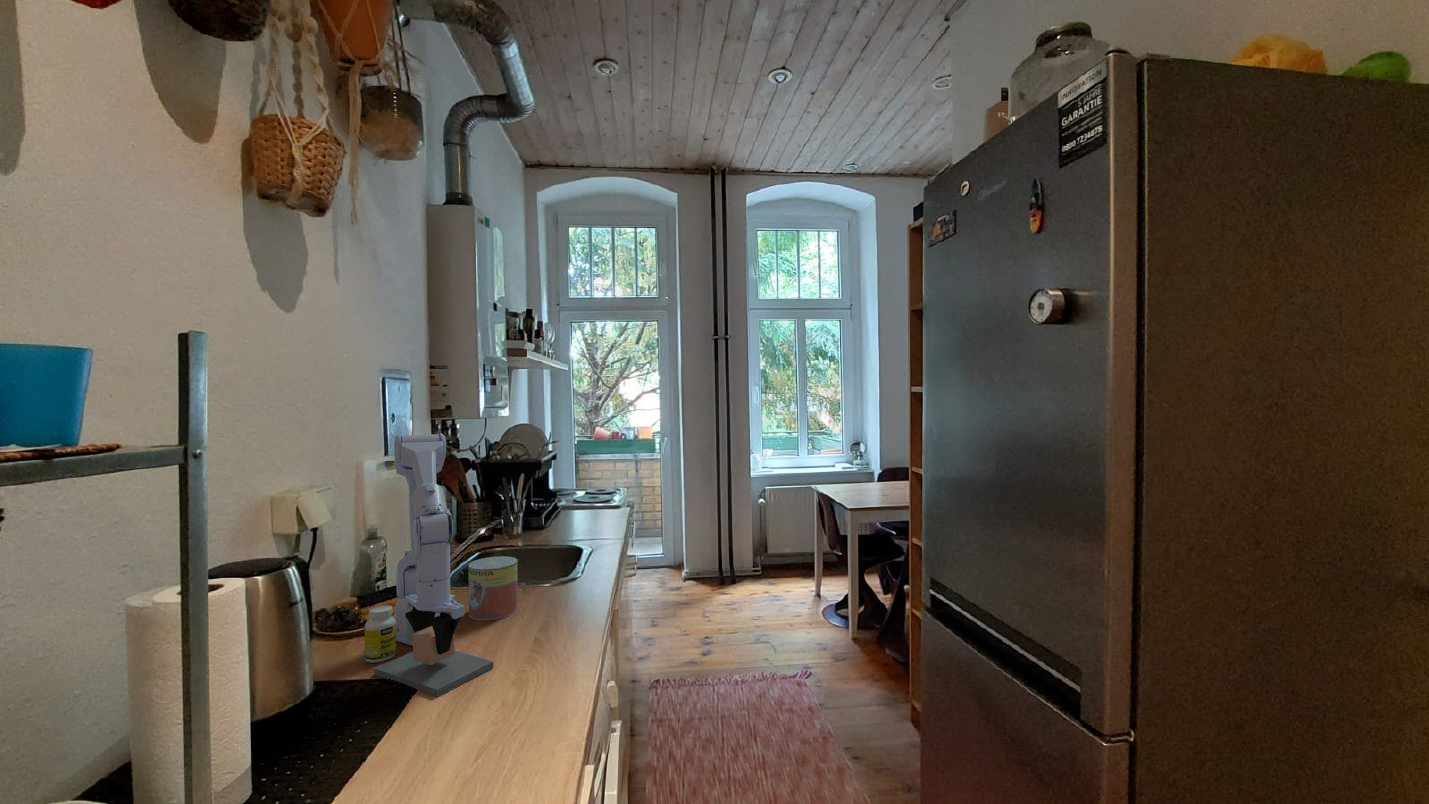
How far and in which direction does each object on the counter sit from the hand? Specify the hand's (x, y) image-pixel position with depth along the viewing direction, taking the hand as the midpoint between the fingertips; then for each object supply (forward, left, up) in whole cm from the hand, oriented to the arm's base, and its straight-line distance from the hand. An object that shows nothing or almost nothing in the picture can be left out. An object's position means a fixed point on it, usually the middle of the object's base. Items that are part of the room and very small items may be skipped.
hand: (434, 649), depth 108 cm
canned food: (-15, +27, -4) cm, 31 cm away
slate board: (0, 0, -4) cm, 4 cm away
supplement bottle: (-15, -1, -4) cm, 16 cm away
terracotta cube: (0, 0, -1) cm, 1 cm away
